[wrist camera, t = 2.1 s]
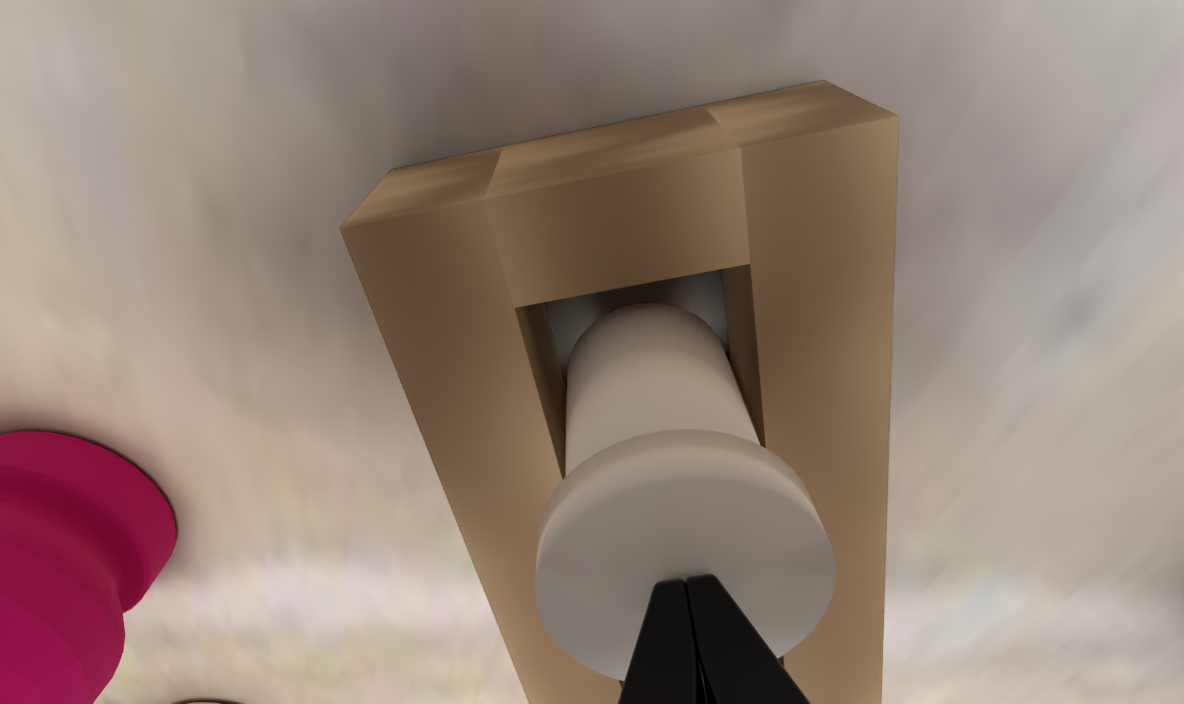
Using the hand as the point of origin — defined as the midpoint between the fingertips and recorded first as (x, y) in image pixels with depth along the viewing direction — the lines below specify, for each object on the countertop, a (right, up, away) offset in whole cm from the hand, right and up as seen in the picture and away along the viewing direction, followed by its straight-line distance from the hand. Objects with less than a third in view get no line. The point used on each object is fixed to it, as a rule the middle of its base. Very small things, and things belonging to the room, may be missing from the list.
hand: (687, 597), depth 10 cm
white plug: (0, +3, +5) cm, 6 cm away
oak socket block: (+1, +1, +11) cm, 11 cm away
